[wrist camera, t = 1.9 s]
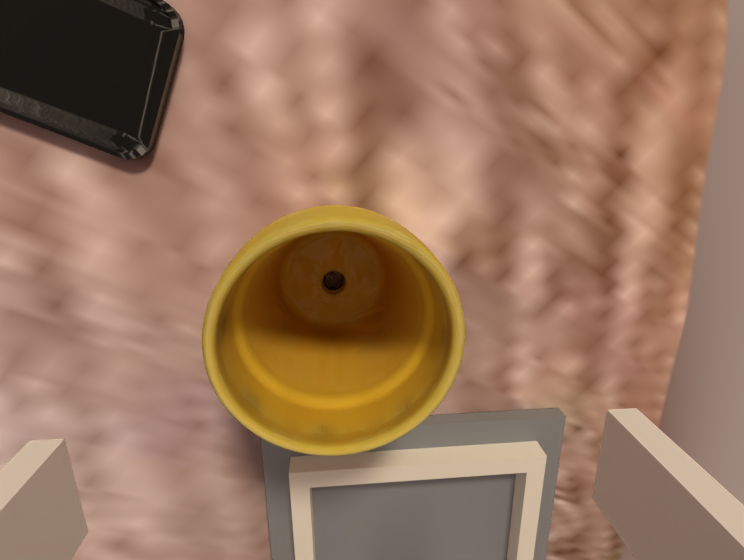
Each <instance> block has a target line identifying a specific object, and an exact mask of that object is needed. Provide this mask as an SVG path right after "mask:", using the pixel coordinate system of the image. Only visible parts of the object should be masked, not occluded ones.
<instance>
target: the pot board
mask: <svg viewBox="0 0 744 560" xmlns="http://www.w3.org/2000/svg"><path fill="white" fill-rule="evenodd" d="M565 418H566V416H565V415H564V414H563V413H562V411H561V410H560V409H559V408H547V409H530V410H513V411H496V412H478V413H461V414H444V415H430V416H429V417H428V418H427V419H425V420H424V421H423V422H422V423H421V424H420V425H418V426H417V427H416V428H414V429H413V430H411V431H410V432H409V433H407V434H405V435H404V436H402V437H400V438H399V439H397V440H395V441H393V442H390V443H388V444H386V445H383V446H381V447H378V448H376V449H373V450H369V451H365V452H361V453H356V454H350V455H343V456H318V455H309V454H303V453H298V452H294V451H291V450H287V449H284V448H281V447H279V446H277V445H274V444H272V443H270V442H267V441H265V440H264V439H262V438H260V440H261V450H262V460H263V470H264V481H265V491H266V501H267V512H268V522H269V532H270V543H271V553H272V560H545V558H546V551H547V544H548V537H549V530H550V523H551V516H552V509H553V502H554V495H555V488H556V481H557V474H558V467H559V460H560V453H561V446H562V439H563V432H564V425H565Z"/></svg>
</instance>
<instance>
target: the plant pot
mask: <svg viewBox="0 0 744 560" xmlns="http://www.w3.org/2000/svg"><path fill="white" fill-rule="evenodd" d="M332 271H336V272H340V273H341V274H343V276H344V284H343V285H342V287H340V288H339V289H337V290H329V289H327V288H326V287H325V285H324V283H323V278H324V275H326V274H327V273H328V272H332ZM464 343H465V322H464V314H463V309H462V305H461V301H460V298H459V295H458V293H457V290H456V288H455V286H454V284H453V282H452V280H451V278H450V276H449V275H448V273H447V272H446V270H445V268H444V267H443V266H442V264H441V263H440V262H439V261H438V259H437V258H436V257H435V256H434V255H433V253H432V252H431V251H430V250H429V249H428V248H427V247H426V246H425V245H424V244H423V243H422V242H421V241H420V240H419V239H418V238H417V237H416V236H414V235H413V234H412V233H411V232H410V231H408V230H407V229H406V228H404V227H403V226H402V225H400V224H398V223H397V222H395V221H393V220H392V219H390V218H388V217H386V216H383V215H381V214H379V213H376V212H373V211H370V210H367V209H363V208H358V207H352V206H341V205H327V206H318V207H312V208H307V209H303V210H300V211H296V212H294V213H291V214H288V215H286V216H284V217H282V218H280V219H278V220H276V221H274V222H273V223H271V224H270V225H268V226H267V227H265V228H264V229H262V230H261V231H260V232H258V233H257V234H256V235H255V236H254V237H253V238H252V239H250V240H249V241H248V242H247V243H246V244H245V245H244V247H243V248H242V249H241V250H240V251H239V252H238V253H237V254H236V256H235V257H234V258H233V260H232V261H231V262H230V264H229V265H228V267H227V268H226V270H225V271H224V273H223V274H222V276H221V278H220V279H219V281H218V283H217V285H216V287H215V289H214V291H213V293H212V295H211V298H210V300H209V303H208V305H207V309H206V313H205V317H204V322H203V329H202V351H203V358H204V363H205V367H206V371H207V375H208V377H209V380H210V383H211V385H212V387H213V389H214V391H215V393H216V395H217V396H218V398H219V399H220V401H221V402H222V404H223V405H224V406H225V408H226V409H227V410H228V411H229V412H230V414H231V415H232V416H233V417H234V418H235V419H236V420H237V421H238V422H239V423H241V424H242V425H243V426H244V427H246V428H247V429H248V430H250V431H251V432H252V433H254V434H255V435H257V436H258V437H260V438H262V439H264V440H265V441H267V442H270V443H272V444H274V445H277V446H279V447H281V448H284V449H287V450H291V451H294V452H298V453H303V454H309V455H318V456H343V455H350V454H356V453H361V452H365V451H369V450H373V449H376V448H378V447H381V446H383V445H386V444H388V443H390V442H393V441H395V440H397V439H399V438H400V437H402V436H404V435H405V434H407V433H409V432H410V431H411V430H413V429H414V428H416V427H417V426H418V425H420V424H421V423H422V422H423V421H424V420H425V419H427V418H428V417H429V416H430V414H431V413H432V412H433V411H434V410H435V409H436V408H437V407H438V405H439V404H440V403H441V402H442V400H443V399H444V398H445V396H446V395H447V393H448V391H449V390H450V388H451V386H452V384H453V382H454V380H455V378H456V375H457V373H458V370H459V367H460V364H461V361H462V357H463V351H464Z"/></svg>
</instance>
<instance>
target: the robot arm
mask: <svg viewBox="0 0 744 560" xmlns="http://www.w3.org/2000/svg"><path fill="white" fill-rule="evenodd" d="M592 498H593V500H594V501H595V503H596V504H597V505H598V507H599V508H600V510H601V511H602V512H603V514H604V515H605V517H606V518H607V519H608V521H609V522H610V524H611V525H612V527H613V528H614V529H615V531H616V532H617V534H618V535H619V536H620V538H621V539H622V541H623V542H624V543H625V545H626V546H627V548H628V549H629V550H630V552H631V553H632V555H633V556H634V557H635V559H636V560H744V505H743V504H742V503H740V502H739V501H738V500H737V499H736V498H735V497H734V496H733V495H731V494H730V493H729V492H728V491H727V490H726V489H725V488H724V487H722V485H720V484H719V483H718V482H717V481H716V480H715V479H714V478H713V477H712V476H710V475H709V474H708V473H707V472H706V471H705V470H704V469H703V468H702V467H701V466H700V465H698V464H697V463H696V462H695V461H694V460H693V459H692V458H691V457H690V456H688V455H687V454H686V453H685V452H684V451H683V450H682V449H681V448H680V447H678V446H677V445H676V444H675V443H674V442H673V441H672V440H671V439H670V438H669V437H667V436H666V435H665V434H664V433H663V432H662V431H661V430H660V429H659V428H658V427H656V426H655V425H654V424H653V423H652V422H651V421H650V420H649V419H648V418H646V417H645V416H644V415H643V414H642V413H641V412H640V411H639V410H638V409H637V408H630V409H611V410H607V414H606V420H605V425H604V431H603V437H602V443H601V448H600V454H599V460H598V465H597V471H596V477H595V483H594V488H593V494H592ZM87 533H88V529H87V525H86V521H85V517H84V513H83V509H82V505H81V501H80V497H79V493H78V489H77V485H76V481H75V477H74V473H73V469H72V465H71V461H70V458H69V454H68V450H67V446H66V442H65V439H50V440H31V441H29V442H28V443H27V444H26V445H25V446H24V447H23V448H22V449H21V450H20V451H19V452H18V453H17V454H16V455H15V456H14V457H13V458H12V459H11V460H10V461H9V462H8V463H7V464H6V465H5V466H4V467H3V468H2V469H1V470H0V560H71V559H72V557H73V555H74V554H75V552H76V551H77V549H78V547H79V546H80V544H81V543H82V541H83V539H84V538H85V536H86V535H87Z"/></svg>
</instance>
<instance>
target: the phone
mask: <svg viewBox="0 0 744 560" xmlns="http://www.w3.org/2000/svg"><path fill="white" fill-rule="evenodd" d="M183 39H184V25H183V22H182V19H181V17H180V15H179V14H178V13H177V12H176V11H175V9H174V8H173V7H171V6H170V5H169V4H168V3H166V2H165V1H163V0H0V112H3V113H5V114H8V115H11V116H13V117H16V118H18V119H21V120H24V121H26V122H29V123H32V124H34V125H37V126H39V127H42V128H45V129H47V130H50V131H52V132H55V133H58V134H60V135H63V136H65V137H68V138H71V139H73V140H76V141H78V142H81V143H84V144H86V145H89V146H91V147H94V148H97V149H99V150H102V151H104V152H107V153H110V154H112V155H115V156H118V157H120V158H124V159H137V158H142V157H144V156H146V155H148V154H149V153H150V152H151V151H152V149H153V147H154V145H155V141H156V138H157V134H158V131H159V127H160V123H161V120H162V116H163V112H164V109H165V105H166V101H167V98H168V94H169V90H170V87H171V83H172V79H173V76H174V72H175V68H176V65H177V61H178V57H179V54H180V50H181V46H182V43H183Z"/></svg>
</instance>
